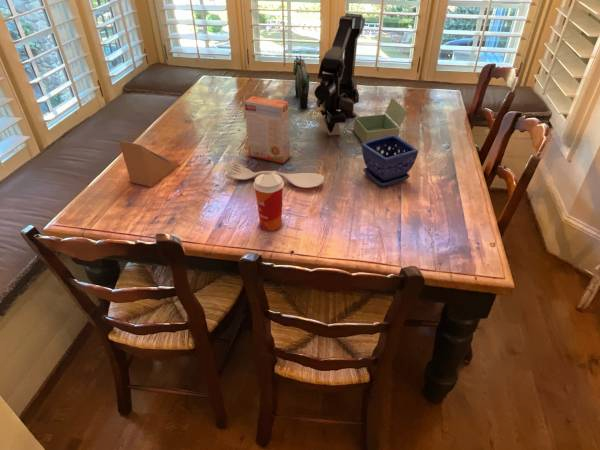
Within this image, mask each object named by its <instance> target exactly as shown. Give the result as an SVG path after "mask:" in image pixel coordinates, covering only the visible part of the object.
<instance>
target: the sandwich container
mask: <svg viewBox="0 0 600 450" xmlns="http://www.w3.org/2000/svg"><path fill="white" fill-rule="evenodd" d="M119 146H120V150H121V152H122V156H123V160H124V163H125V166H126V170H127V173H128V177H129V180H130V183H134V184H137V185H140V186H145V187H150V188H151V187H153V186H154V185H156V184H157V183H158V182H160V181H161V180H163V179H164V178H165V177H166V176H168V174H170V173H171V172H172V171H173V170H175V169H176V168H177V167H178V164H176V163H174V162H172V161H170V160H169V159H167V158H165V157H163V156H161V155H159V154H158V153H155V152H153V151H152V150H151V149H149V148H147V147H145V146H143V145H141V144H138V143H134V142H130V141H123V140H119Z"/></svg>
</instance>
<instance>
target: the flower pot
mask: <svg viewBox="0 0 600 450" xmlns="http://www.w3.org/2000/svg"><path fill="white" fill-rule="evenodd" d="M378 148H379V149H378ZM361 154H362V158H363V161H364V164H365V166H366V167H363V169H362V171H363V172H364V174H365V175H366V176H368V177H369V178H370V179H371V180H373V181H374V182H375V183H376V184H377V185H378V186H380V187H381V188H385V187H388V186H391V185H394V184H397V183H400V182H404V181H406V180H407V179H409V178H410V176H411V174H409V172H410V171H411V170H412V168H413V166H414V164H415V162H416V160H417V157H418V155H419V150H418V148H416V147H415V146H413V145H412V144H410V143H408V142H407V141H406V140H404V139H402V138H400V137H399V136H398V137H397V136H395V135H390V136H386V137H382V138H378V139H375V140H371V141H368V142H365V143H363V142H362V143H361Z"/></svg>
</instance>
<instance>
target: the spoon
mask: <svg viewBox="0 0 600 450" xmlns="http://www.w3.org/2000/svg"><path fill="white" fill-rule="evenodd" d="M231 166H232V168H231V170H230V172H228V173H226V174H224V176H225V178H227V179H231V180H232V179H233V180H244V181H245V180H250V179H253V178H256V177H257V176H259V175H261V174H269V173H270V175H271V174H272V173H274V174H277V175H279V176H280V177H281V178H284V179H286V180H287V181H288V182H289V183H290V184H292V185H293V186H296V187H298V188H304V189H309V188H316V187H318V186H321V185H322V184H324V181H325V177H324V176H323V175H322V174H319V173H315V172H299V173H298V172H296V173H285V172H279V171H277V170H260V171H257V172H254V171H252V170H251V169H249V168H247V167H245V166H243V165H241V164H239V163H237V162H233V163H232V165H231Z"/></svg>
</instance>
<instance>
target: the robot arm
mask: <svg viewBox="0 0 600 450" xmlns="http://www.w3.org/2000/svg"><path fill="white" fill-rule="evenodd" d="M365 24H366V17H364V16H363V14H360V13H345V15H341V16H340V17H339V21H338V28H337V30H336V34H335V36H334V39H333V42H332V45H331V47H330V49H328V50H327V51H326V52H325V53H324V55H323V58H322V59H321V61H320V64H319V69H318V75H317V79H321V81H320V82H319V84H318V86H317V87H315V90H314V97H315V98H316V99H317V100H316V106H317V108H321V110H320V111H319V112H320V114H321V117H322V116H323V115H325V116H324V118H325V121H326V124H327V126H326V125H325V126H326V129H327V130H329V132H332V131H333V128H334V125H335V123H339V124H341V123H346V120H347V119H348V118H355V117H357V115H356V114H355V113H354V107H355V105H356V104H358V103H359V102H360V94H359V90H358V88H357V87H358V84H357V82H356V79H355V68H356V59H357V49H358V48H357V47H358V40H359V38H360V36H361V35H362V33H363V29H364V28H365Z"/></svg>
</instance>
